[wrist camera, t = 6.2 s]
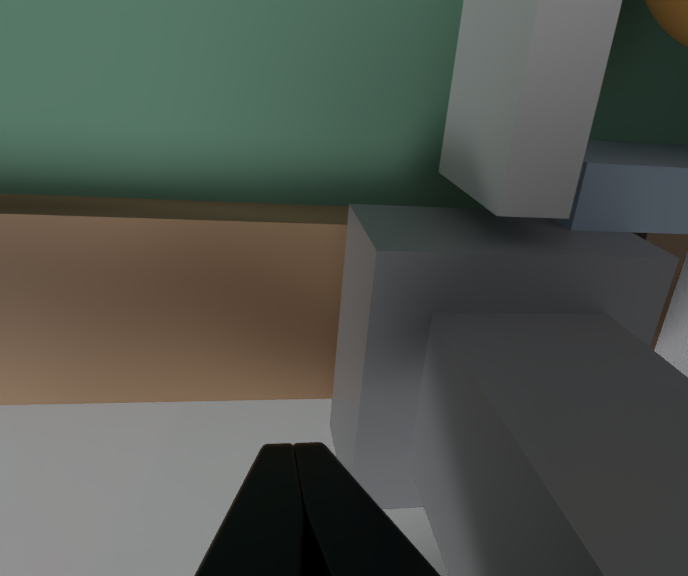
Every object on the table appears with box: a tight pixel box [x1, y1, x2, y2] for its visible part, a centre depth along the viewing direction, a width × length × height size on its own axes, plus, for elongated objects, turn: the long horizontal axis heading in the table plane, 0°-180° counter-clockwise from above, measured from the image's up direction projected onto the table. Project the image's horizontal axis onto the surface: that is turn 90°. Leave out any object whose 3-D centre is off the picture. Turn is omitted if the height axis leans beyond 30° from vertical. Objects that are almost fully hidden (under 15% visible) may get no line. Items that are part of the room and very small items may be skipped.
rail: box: [0, 193, 688, 405], centre depth 11 cm, size 5×23×2 cm, turn 86°
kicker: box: [330, 0, 688, 576], centre depth 7 cm, size 12×5×9 cm, turn 176°
